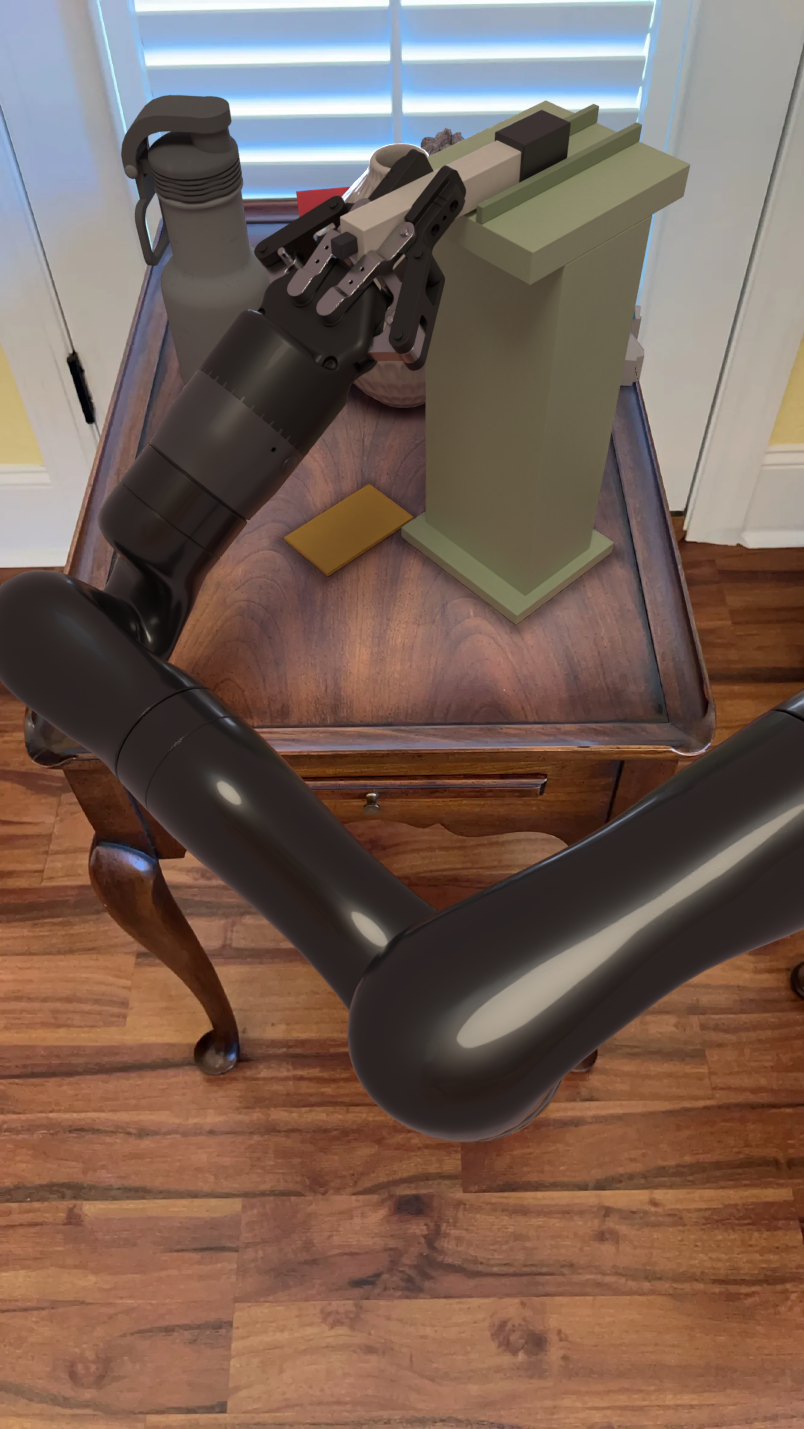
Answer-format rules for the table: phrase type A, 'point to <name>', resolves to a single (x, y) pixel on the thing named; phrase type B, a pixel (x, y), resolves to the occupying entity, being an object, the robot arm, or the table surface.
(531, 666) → the table surface
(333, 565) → the mat
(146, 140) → the water bottle
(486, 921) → the robot arm
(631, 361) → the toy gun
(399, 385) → the vase
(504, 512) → the green railed pedestal
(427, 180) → the marker
